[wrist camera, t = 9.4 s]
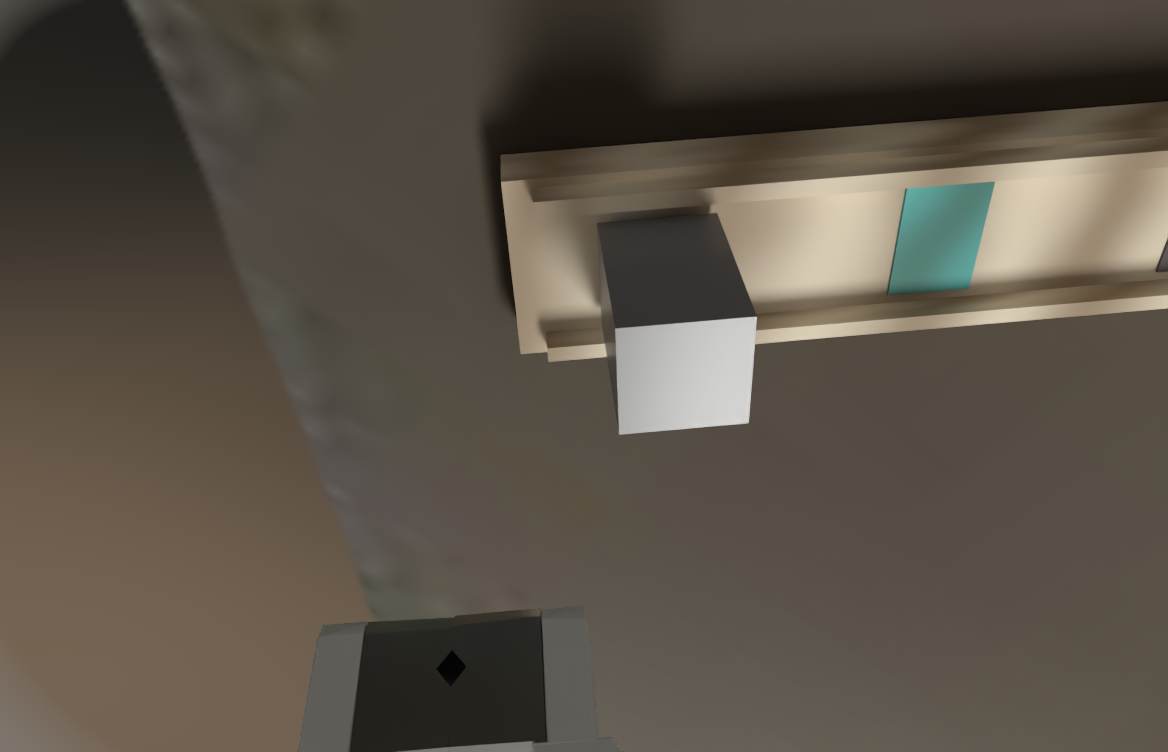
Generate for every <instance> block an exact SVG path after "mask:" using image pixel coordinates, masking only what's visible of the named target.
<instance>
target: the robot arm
mask: <svg viewBox="0 0 1168 752" xmlns="http://www.w3.org/2000/svg"><path fill="white" fill-rule="evenodd" d="M541 617H542V622H541ZM297 752H623V750H622V749H621V748H620V747H619V745H618V744H617V743H616V742H615V740H614V739H613V738H612V737H608V738H599V733H598V722H597V712H596V701H595V691H594V681H593V670H592V660H591V649H590V639H589V628H588V618H587V612H586V609H585V606H576V607H565V608H554V609H543V610H542V611H540V608H538V609H526V610H515V611H504V612H493V613H481V614H470V615H459V616H455V617H453V618H435V619H416V620H398V621H379V622H358V623H344V624H331V625H323V627H322V629H321V632H320V633H319V636H318V638H317V641H316V647H315V652H314V658H313V664H312V670H311V675H310V681H309V686H308V693H307V698H306V704H305V710H304V715H303V721H302V727H301V733H300V738H299V744H298V749H297Z"/></svg>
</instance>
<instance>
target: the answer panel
mask: <svg viewBox="0 0 1168 752" xmlns="http://www.w3.org/2000/svg"><path fill="white" fill-rule="evenodd" d="M500 156H501V187H502V196H503V204H504V213H505V222H506V230H507V239H508V247H509V256H510V265H511V273H512V282H513V291H514V299H515V308H516V316H517V325H518V334H519V342H520V351H521V354H528V353H539V352H548V361H549V362H552V361H564V360H575V359H587V358H599V357H607V354H606V348H605V342H604V335H603V329H602V323H601V303H600V282H599V261H598V240H597V223H601V222H613V221H625V220H637V219H649V218H662V217H674V216H686V215H698V214H710V213H717V214H718V217H719V219H720V222H721V224H722V227H723V230H724V232H725V235H726V237H727V240H728V243H729V245H730V248H731V250H732V253H733V255H734V258H735V261H736V263H737V266H738V268H739V271H740V274H741V276H742V279H743V281H744V284H745V287H746V289H747V292H748V294H749V297H750V300H751V302H752V305H753V307H754V310H755V313H756V315H757V323H756V335H755V344H760V343H772V342H784V341H795V340H807V339H818V338H830V337H841V336H853V335H864V334H876V333H888V332H899V331H911V330H922V329H934V328H945V327H957V326H968V325H980V324H992V323H1003V322H1015V321H1026V320H1038V319H1049V318H1061V317H1073V316H1084V315H1096V314H1107V313H1119V312H1130V311H1142V310H1153V309H1165V308H1168V101H1166V102H1153V103H1141V104H1128V105H1116V106H1103V107H1091V108H1078V109H1066V110H1054V111H1041V112H1029V113H1016V114H1004V115H991V116H979V117H966V118H954V119H941V120H929V121H916V122H904V123H891V124H879V125H866V126H854V127H841V128H829V129H817V130H804V131H792V132H779V133H767V134H754V135H742V136H729V137H717V138H704V139H692V140H679V141H667V142H654V143H642V144H629V145H617V146H604V147H592V148H579V149H567V150H555V151H542V152H530V153H517V154H505V155H500Z"/></svg>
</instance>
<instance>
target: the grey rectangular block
mask: <svg viewBox="0 0 1168 752" xmlns="http://www.w3.org/2000/svg"><path fill="white" fill-rule="evenodd" d="M597 240H598V261H599V282H600V303H601V323H602V329H603V335H604V342H605V348H606V354H607V361H608V367H609V373H610V380H611V386H612V392H613V399H614V405H615V412H616V418H617V424H618V431H619V435H620V434H631V433H643V432H654V431H665V430H676V429H688V428H699V427H710V426H721V425H733V424H744V423H749V411H750V399H751V386H752V373H753V361H754V348H755V335H756V323H757V315H756V313H755V310H754V307H753V305H752V302H751V300H750V297H749V294H748V292H747V289H746V287H745V284H744V281H743V279H742V276H741V274H740V271H739V268H738V266H737V263H736V261H735V258H734V255H733V253H732V250H731V248H730V245H729V243H728V240H727V237H726V235H725V232H724V230H723V227H722V224H721V222H720V219H719V217H718V214H717V213H710V214H698V215H686V216H674V217H662V218H649V219H637V220H625V221H613V222H601V223H597Z"/></svg>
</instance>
